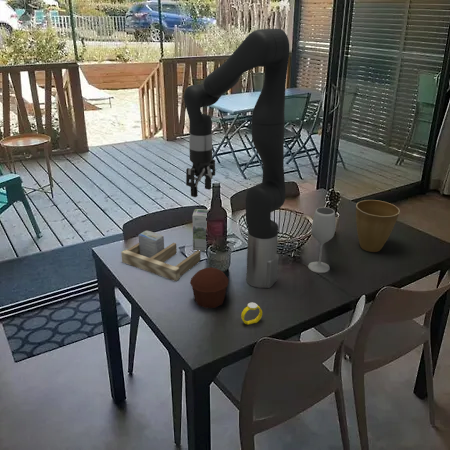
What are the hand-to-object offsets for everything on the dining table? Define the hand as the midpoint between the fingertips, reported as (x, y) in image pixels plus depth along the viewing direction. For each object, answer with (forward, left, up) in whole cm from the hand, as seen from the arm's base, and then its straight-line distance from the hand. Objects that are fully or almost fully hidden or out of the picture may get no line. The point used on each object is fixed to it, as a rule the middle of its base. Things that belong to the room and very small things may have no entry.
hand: (201, 192), depth 166 cm
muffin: (-20, +26, -22) cm, 39 cm away
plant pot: (-52, -34, -22) cm, 66 cm away
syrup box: (0, 0, -22) cm, 22 cm away
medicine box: (+11, +14, -22) cm, 29 cm away
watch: (-36, +29, -22) cm, 51 cm away
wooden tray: (+6, +15, -22) cm, 27 cm away
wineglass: (-41, -10, -22) cm, 48 cm away
